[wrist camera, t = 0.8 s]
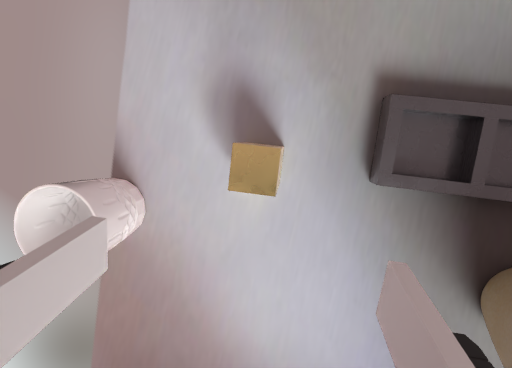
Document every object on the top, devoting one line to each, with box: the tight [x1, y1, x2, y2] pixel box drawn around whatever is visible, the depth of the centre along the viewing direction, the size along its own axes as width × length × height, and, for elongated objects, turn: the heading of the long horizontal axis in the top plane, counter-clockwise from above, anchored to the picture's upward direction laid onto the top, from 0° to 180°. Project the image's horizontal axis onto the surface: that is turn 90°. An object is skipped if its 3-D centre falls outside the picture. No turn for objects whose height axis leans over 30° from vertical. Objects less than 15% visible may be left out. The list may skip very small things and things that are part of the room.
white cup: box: [13, 178, 146, 255], centre depth 32 cm, size 8×8×10 cm
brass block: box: [228, 142, 284, 196], centre depth 31 cm, size 4×4×8 cm
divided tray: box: [370, 94, 512, 202], centre depth 31 cm, size 8×18×3 cm, turn 84°
